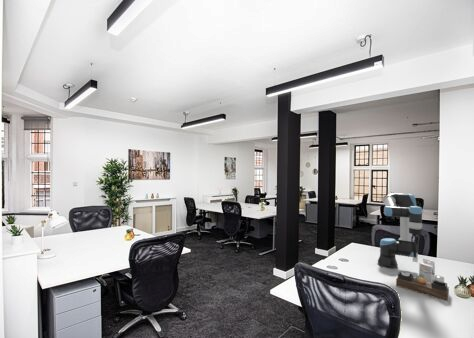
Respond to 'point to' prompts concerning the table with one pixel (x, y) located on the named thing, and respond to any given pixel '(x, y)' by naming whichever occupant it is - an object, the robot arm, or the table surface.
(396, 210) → the robot arm
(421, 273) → the ink box
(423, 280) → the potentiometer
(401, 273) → the knob
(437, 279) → the knob
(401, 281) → the brown long low box
